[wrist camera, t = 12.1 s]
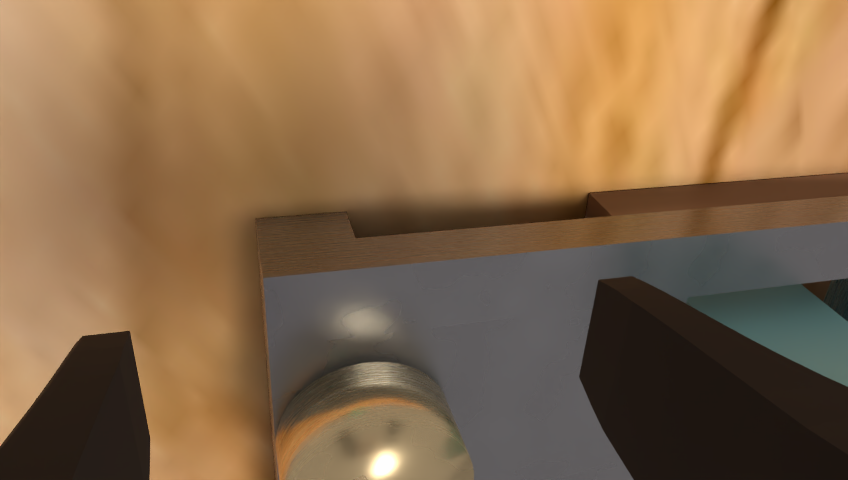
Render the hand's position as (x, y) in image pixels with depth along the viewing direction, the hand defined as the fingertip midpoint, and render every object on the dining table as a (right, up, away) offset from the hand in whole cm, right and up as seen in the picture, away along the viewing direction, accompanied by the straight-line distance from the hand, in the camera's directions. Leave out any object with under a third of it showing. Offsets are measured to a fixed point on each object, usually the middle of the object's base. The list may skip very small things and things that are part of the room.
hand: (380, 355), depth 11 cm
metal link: (+6, -2, +14) cm, 15 cm away
